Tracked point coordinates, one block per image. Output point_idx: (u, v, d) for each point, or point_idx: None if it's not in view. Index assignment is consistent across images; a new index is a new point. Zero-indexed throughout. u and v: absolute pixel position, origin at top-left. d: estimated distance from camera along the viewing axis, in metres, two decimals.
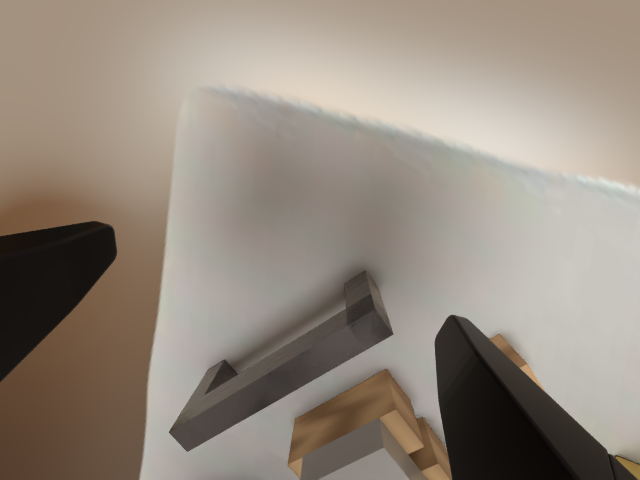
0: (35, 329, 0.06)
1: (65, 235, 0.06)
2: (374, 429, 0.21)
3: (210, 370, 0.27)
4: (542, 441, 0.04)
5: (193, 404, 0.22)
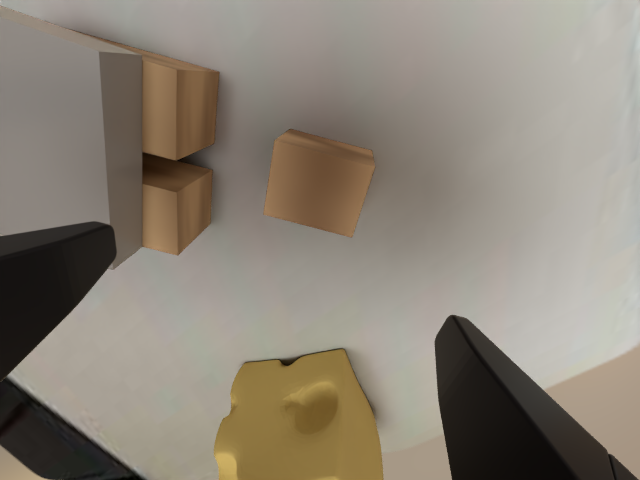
0: (35, 329, 0.06)
1: (65, 235, 0.06)
2: (117, 49, 0.12)
3: None
4: (542, 441, 0.04)
5: None
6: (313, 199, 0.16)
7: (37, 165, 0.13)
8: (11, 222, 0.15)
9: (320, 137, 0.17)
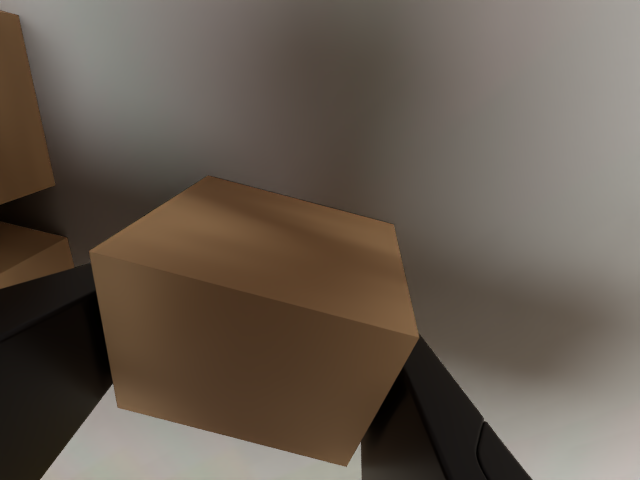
0: None
1: None
2: None
3: None
4: (417, 408, 0.04)
5: None
6: (239, 393, 0.06)
7: None
8: None
9: (274, 197, 0.08)
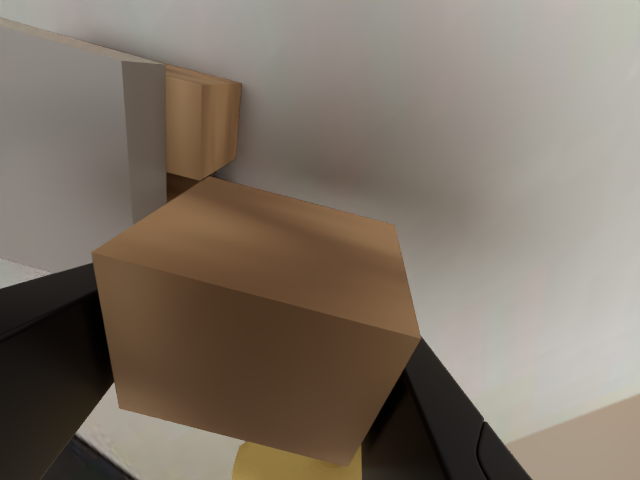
0: None
1: None
2: (139, 59, 0.11)
3: None
4: (417, 408, 0.04)
5: None
6: (240, 393, 0.06)
7: (58, 189, 0.12)
8: (31, 250, 0.14)
9: (276, 198, 0.08)
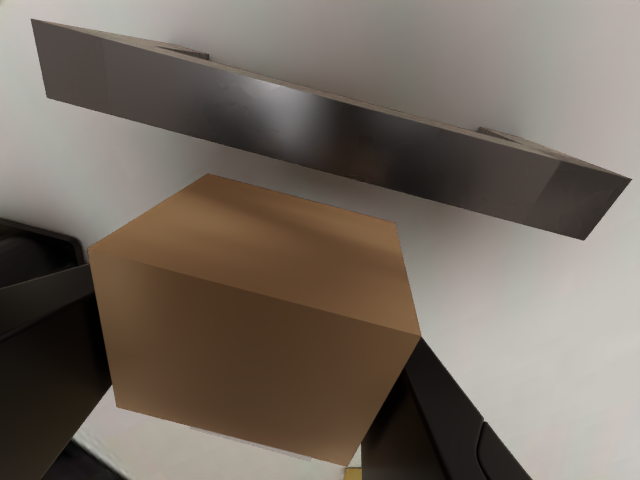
0: None
1: None
2: None
3: (173, 45, 0.13)
4: (417, 408, 0.04)
5: (120, 38, 0.10)
6: (239, 392, 0.06)
7: None
8: None
9: (275, 195, 0.07)
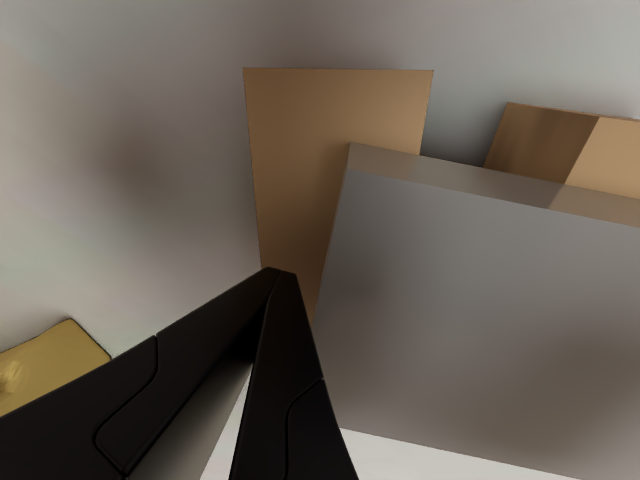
0: (241, 383, 0.06)
1: (264, 287, 0.06)
2: None
3: None
4: (254, 366, 0.04)
5: None
6: None
7: (515, 382, 0.07)
8: (377, 278, 0.06)
9: None
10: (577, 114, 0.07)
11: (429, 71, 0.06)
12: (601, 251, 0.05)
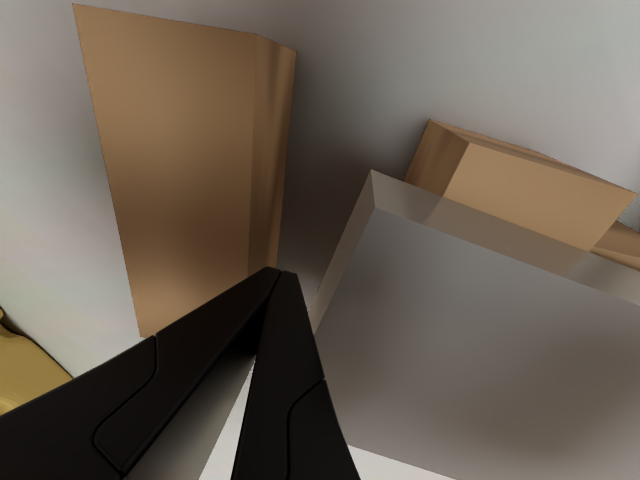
0: (240, 382, 0.06)
1: (263, 287, 0.06)
2: None
3: None
4: (256, 367, 0.04)
5: None
6: None
7: (487, 412, 0.07)
8: (381, 307, 0.06)
9: None
10: (459, 138, 0.07)
11: (253, 35, 0.06)
12: (583, 312, 0.06)
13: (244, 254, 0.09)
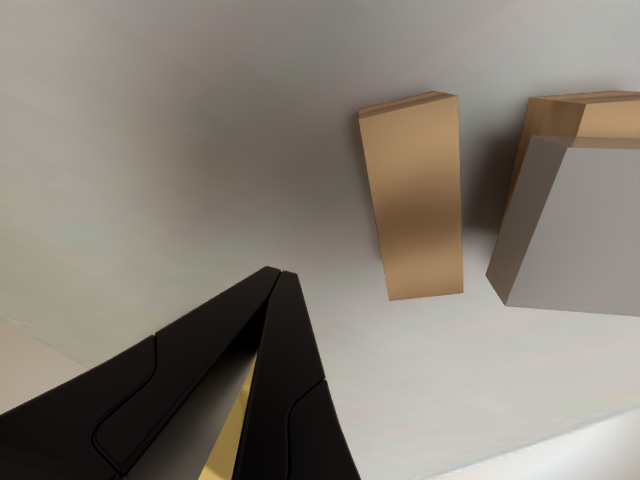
0: (240, 382, 0.06)
1: (263, 287, 0.06)
2: None
3: None
4: (256, 367, 0.04)
5: None
6: None
7: None
8: (575, 202, 0.11)
9: None
10: (574, 103, 0.12)
11: (455, 96, 0.12)
12: None
13: (458, 218, 0.14)
